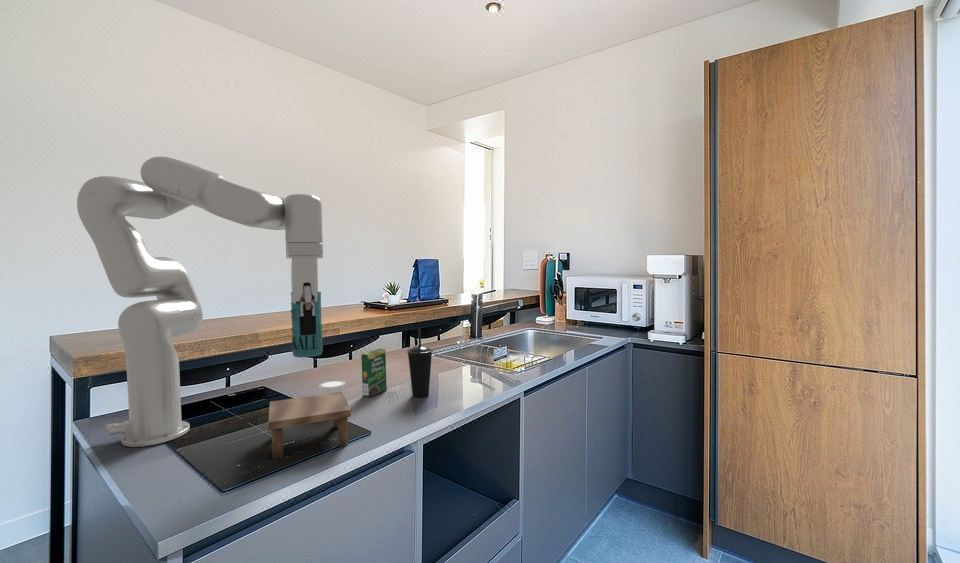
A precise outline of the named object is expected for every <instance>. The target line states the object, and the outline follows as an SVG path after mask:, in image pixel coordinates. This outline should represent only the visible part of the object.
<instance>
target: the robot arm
mask: <svg viewBox="0 0 960 563" xmlns="http://www.w3.org/2000/svg"><path fill="white" fill-rule="evenodd" d="M140 176H141V180H142V181H143V182H142V181H139V180H138V181H137V180H134V179H129V178H125V177H120V176H111V175H103V176H95V177H92V178H90V179H88V180H86V181H85V182H84V183H83V184H82V185H81V188H80V190H79V192H78V194H77V197H76V198H77V199H76V208H77V214H78V216H79V220H80V221H81V223H82V225H83V227H84V229H85V230H86V232H87V234H88V235H89V237H90V239H91V241H92V242H93V244H94V246H95V249H96V252H97V254H98V256H99V259H100V262H101V264H102V266H103V269H104V272H105V274H106V276H107V279H108V282H109V284H110V286H111V289H113V291H114V292H115V294H117V295H118V296H120V297H122V298H127V299H128V298H129V299H130V298H131V299H132V298H133V299H135V298H147V297H149V298H150V297H156V299H153V300H145V301H138V302H136V303H134V304H131V305H129V306H127V307H126V308H125V309H124V310H123V311H122V312H121V313H120V315H119V316H118V317H119V318H118V321H117V322H118V323H117V327H118V331H119V334H120V338H121V340H122V345H123V349H124V355H125V365H126V366H125V367H126V380H127V381H126V382H127V384H126V385H127V399H128V401H127V402H128V420H124V422H121V423H120V422H119V423H117V422H116V423H115V422H114V423H109V424H106V426H105V433H106V434H108V435H109V436H113V435H118V434H122V437H121V438H120V443H121V445H123V446H125V447H128V448H129V447H131V448H140V447H142V448H143V447H148V446H155V445H159V444H163V443H167V442H170V441H173V440H175V439H178V438H181V437H182V436H184V435H186V433H188V432H189V431H190V430H191V429H190V428H191V427H190V426H191V425H190V423H189V422H188V421H184V420H182V404H181V403H182V402H181V401H182V400H181V380H180V379H181V376H180V360H179V355H178V352H177V350H176V348H175V347H174V345H173V343H172V342H171V339H173V338H177V337H182V336H187V335H189V334H193V333H194V332H196V331H197V330H198V329H199V328H200V326H201V325H202V322H203V320H204V319H203V317H204V314H203V309H202V306H201V303H200V300H199V298H198V295H197V294H196V290H195V289H194V286H193V283H192V280H191V278H190V275H189V273H188V272H187V270H186V267H184V266H183V265H182V264H181V263H180V262H179V261H177V260H176V259H173V258H170V257H165V256H152V255H151V254H150V253H149V250H148V249H147V246H146V244H145V241H144V239H143V237H142V236H141V234H140V232H139V231H138V230H137V229H136V228H135V227H134V226H133V225H132V224H131V223H130V222H129V221H128V220H127V219H126V217H131V218H140V219H141V218H142V219H148V220H160V219H165V218H169V217H170V216H173V215H175V214H177V213H179V212H181V211H183V210H184V209H187V208H188V207H191V206H194V207H197V208H199V209H203V210H204V211H206V212H208V213H210V214H212V215H214V216H217V217H220V218H222V219H225V220H228V221H229V222H230V221H231V222H234V223H236V224H239V225H243V226H244V227H245V226H246V227H250V228H258V229H266V230H272V231H283V230H284V233H285V234H284V235H285V255H286V256H285V258H286V259H291V262H290V263H291V264H290V265H291V266H290V268H291V269H290V272H291V273H290V274H291V275H290V278H291V279H290V281H291V282H290V283H291V292H292V301H293V303H294V304H296V301H300V310H301V317H299V318H300V335H314V334H316V316H315V309H314V303H316V302H317V297H318V289H319V270H318V269H319V267H318V266H319V262H318V259H323V258H324V247H323V246H324V244H323V242H324V241H323V214H322V213H323V212H322V210H323V209H322V201H321V199H320V197H318V196H315V195H312V194H305V193H304V194H303V193H296V194H290V195H287V196H286V197H281V196H278V195H277V196H276V195H273V194H269V193H266V192H262V191H258V190H254V189H251V188H248V187H245V186H242V185H239V184H236V183H234V182H230V181H228V180H226V179H225V177H223V175H221V174H219V173H217V172H213V171H212V170H211V171H210V170H207V169H204V168H202V167H200V166H199V165H196V164H194V163H193V164H192V163H189V162H186V161H182V160H179V159H177V158H173V157H168V156H155V157H154V156H153V157H151V158H149V159H147V160H145V161H144V162H143V163H142V166H141V167H140ZM303 287H304V291H303ZM314 296H315V300H314ZM304 299H305V302H302V300H304ZM311 299H312V301H311ZM314 301H315V302H314ZM303 310H304V312H303Z"/></svg>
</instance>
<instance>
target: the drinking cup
mask: <svg viewBox="0 0 960 563" xmlns="http://www.w3.org/2000/svg"><path fill="white" fill-rule="evenodd" d="M417 330H418V345H417V346H413V347H411V348H409V349H407V350H406V353H407V356H408V365H409V366H408V367H409V376H410V384H411V393H412V395H411V396H412V397H413V398H416V399H417V398H418V399H419V398H421V399H422V398H426V397H428V396H429V394H430V383H431V382H430V380H431V371H432V370H431V369H432V366H431V365H432V356H433V354H432V353H433V350H434V349H432V348H430V347H428V346H424V345H422V334H421V332H422V329H421V328H418V329H417Z"/></svg>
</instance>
